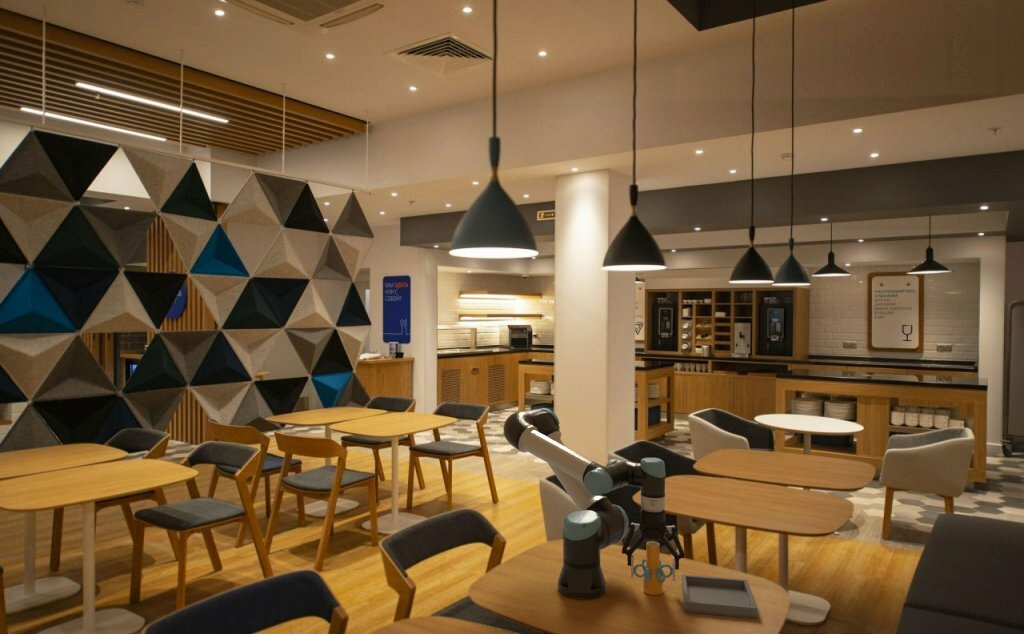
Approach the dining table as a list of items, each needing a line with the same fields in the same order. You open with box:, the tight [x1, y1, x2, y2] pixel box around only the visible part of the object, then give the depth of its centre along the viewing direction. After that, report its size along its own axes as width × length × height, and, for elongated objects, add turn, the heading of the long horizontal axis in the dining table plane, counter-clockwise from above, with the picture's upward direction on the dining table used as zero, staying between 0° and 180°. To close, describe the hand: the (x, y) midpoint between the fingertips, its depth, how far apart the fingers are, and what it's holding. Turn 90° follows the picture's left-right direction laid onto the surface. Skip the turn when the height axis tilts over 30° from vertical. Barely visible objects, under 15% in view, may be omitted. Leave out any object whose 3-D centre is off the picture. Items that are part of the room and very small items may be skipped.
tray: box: [681, 573, 758, 619], centre depth 194 cm, size 20×20×3 cm
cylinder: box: [634, 540, 673, 596], centre depth 200 cm, size 12×10×15 cm
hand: (653, 577), depth 200 cm, fingers closed on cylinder, 12 cm apart
